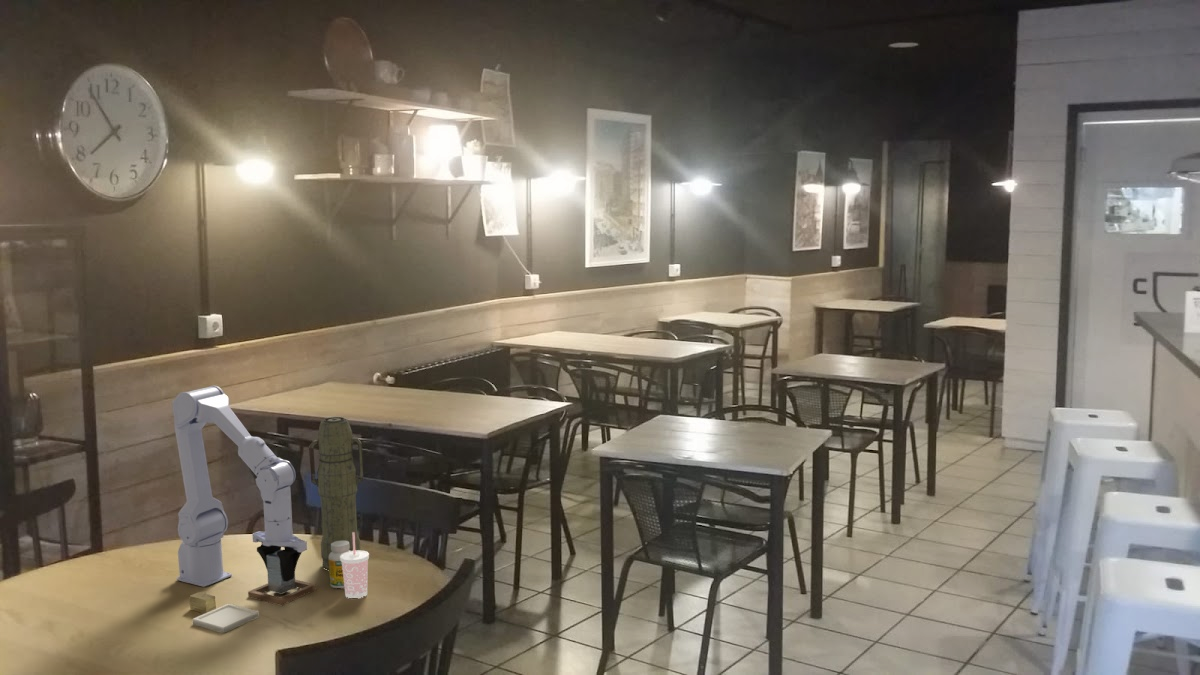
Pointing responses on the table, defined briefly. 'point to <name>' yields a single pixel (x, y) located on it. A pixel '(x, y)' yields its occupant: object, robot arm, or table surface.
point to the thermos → (336, 483)
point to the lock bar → (202, 602)
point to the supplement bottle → (337, 563)
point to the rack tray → (225, 618)
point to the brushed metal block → (277, 575)
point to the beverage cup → (355, 572)
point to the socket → (306, 589)
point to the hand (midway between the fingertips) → (281, 578)
